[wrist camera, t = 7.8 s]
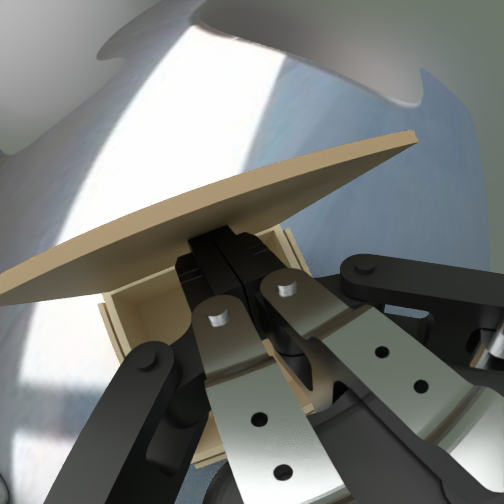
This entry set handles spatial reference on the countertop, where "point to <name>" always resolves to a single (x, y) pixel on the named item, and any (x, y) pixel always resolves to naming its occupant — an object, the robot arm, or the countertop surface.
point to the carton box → (184, 324)
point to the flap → (191, 222)
